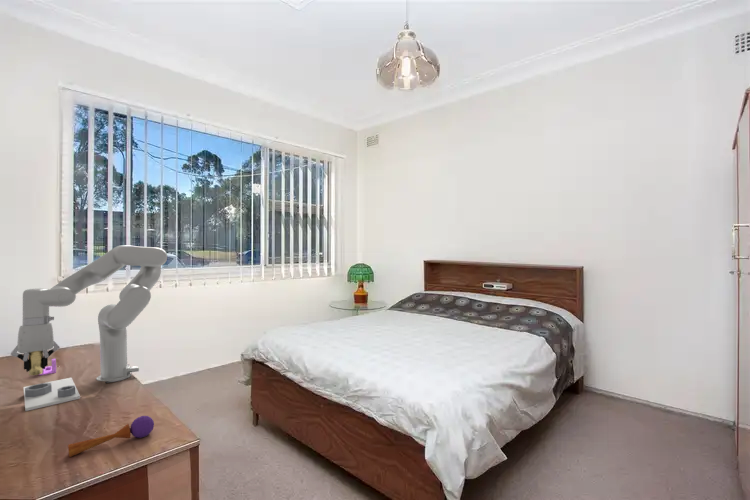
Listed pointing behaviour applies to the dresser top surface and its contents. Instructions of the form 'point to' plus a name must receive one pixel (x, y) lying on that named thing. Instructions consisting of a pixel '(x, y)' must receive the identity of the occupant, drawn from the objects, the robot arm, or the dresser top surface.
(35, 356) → the brass pipe fitting
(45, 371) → the bracket
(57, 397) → the fitting board
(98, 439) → the kendama
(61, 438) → the dresser top surface
